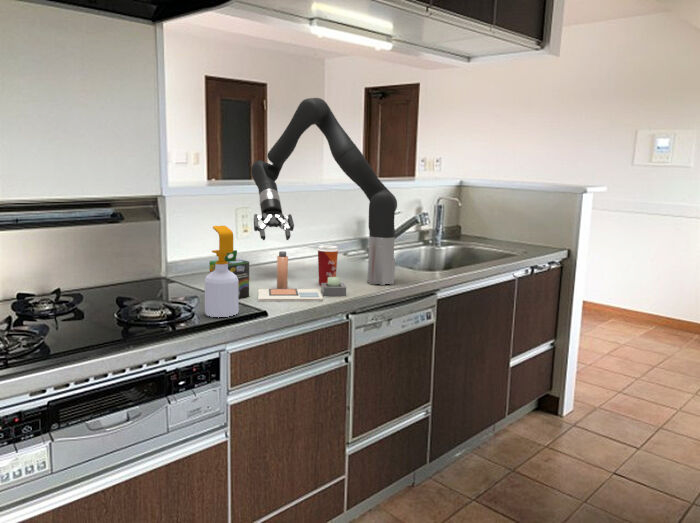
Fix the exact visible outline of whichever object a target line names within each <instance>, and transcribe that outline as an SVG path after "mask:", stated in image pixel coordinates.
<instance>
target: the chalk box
mask: <svg viewBox="0 0 700 523" xmlns="http://www.w3.org/2000/svg"><path fill="white" fill-rule="evenodd" d="M229 255H232V257H229ZM237 255H238V250H236V249H235V250H234V249H233V252H232V253H227V256H225V261H228V270H229V271H231V272H232V273H234V274H235V275H236V276H237V278H238V299H243V298H248V297H250V261H249V260H243V259H239V258H237ZM216 261H218V259H214V260H210V261H209V274H210V273H211V272H213V271H214V270H215V262H216Z"/></svg>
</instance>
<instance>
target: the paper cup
mask: <svg viewBox="0 0 700 523" xmlns="http://www.w3.org/2000/svg"><path fill="white" fill-rule="evenodd" d="M316 250H317V261H318V262H317V265H318V285H321V283H328V277H337V266H338V254H339V251H340V250H339V247H338V245H333V244H331V245H329V244H323V245H318V246H317V249H316Z"/></svg>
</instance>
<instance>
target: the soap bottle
mask: <svg viewBox="0 0 700 523" xmlns="http://www.w3.org/2000/svg"><path fill="white" fill-rule="evenodd" d="M212 229H213V230H214V231H216V232H217V234H218V239H219V240H218V241H219V242H218V245H219V246H218V249H215V250H211V253H213V254H216V257H218V259H217V260H218V261H216V262H215V270H214V271H213V272H211V273H210V272H209V273H208V274H207V275H206V276H205V279H204V314H205V316H207V317H209V316H210V317H209V318H213V317H218V318H217V319H220V318H219V317H228V318H230V317H229V316H233V315H235V316H237V315H238V314H239V298H238V278H237V276H236V275H235V274H234V273H232V272H231V271H229V270H228V261H225V256H227V253H232V252H233V250H234V232H233V231H232V230H231V229H230V228H229V227H228V226H227V225H213V226H212ZM236 314H237V315H236ZM233 317H234V316H233Z"/></svg>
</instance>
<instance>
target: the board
mask: <svg viewBox="0 0 700 523" xmlns="http://www.w3.org/2000/svg"><path fill="white" fill-rule="evenodd" d="M257 298H258V299H257V300H258V302H323V301H324V298H323V295H322V292H321V290H320V289H319V288H287V289H277V288H259V289H258V294H257Z"/></svg>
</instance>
